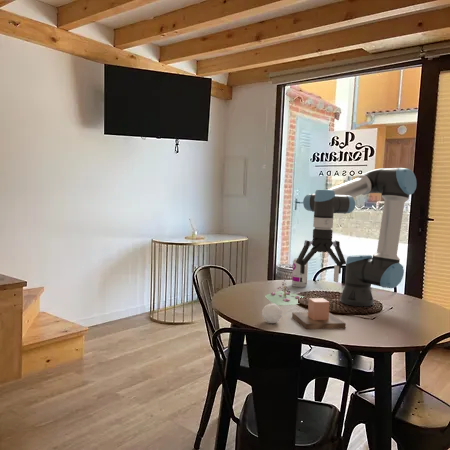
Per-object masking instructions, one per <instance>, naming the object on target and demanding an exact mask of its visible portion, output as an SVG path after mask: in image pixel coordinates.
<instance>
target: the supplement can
mask: <svg viewBox="0 0 450 450" xmlns="http://www.w3.org/2000/svg"><path fill="white" fill-rule="evenodd" d="M297 258H298V257H296V258H294V259H293V261H292V278H291V286H293V287H295V288H296V287H297V288H306V287H307V286H308V276H307V277H306V283H304V282H303V281H302V274H301V273H300V267H301V266H300V264H298V263H296V260H297ZM306 266H307V272H308V268H309V261H308V262H307V263H306Z"/></svg>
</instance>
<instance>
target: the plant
mask: <svg viewBox="0 0 450 450" xmlns="http://www.w3.org/2000/svg"><path fill="white" fill-rule="evenodd" d="M285 281H286V280H284V279H283V282H282V281H281V285H282V286H279V287H277V288H276V289H278V290H277V291H272V292H270V293H267V294H266V295H264V297H265V298H266V299H267V300H268V301H269V302H270V303H271V304H274V303H275V304H276V305H278V306H296V305H299V303H298V299H300V298H301V297H302V298H303V297H305V296H303V295H300V294H297V293H293V292H291V291H290V288H287V286H286V285H285Z"/></svg>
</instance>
